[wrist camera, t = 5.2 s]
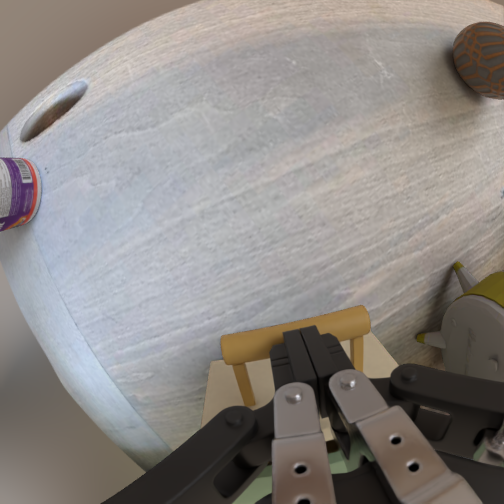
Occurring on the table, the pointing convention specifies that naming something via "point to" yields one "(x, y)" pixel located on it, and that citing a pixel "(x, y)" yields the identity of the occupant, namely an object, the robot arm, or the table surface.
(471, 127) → the table surface
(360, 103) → the table surface
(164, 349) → the table surface
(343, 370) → the robot arm
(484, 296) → the alarm clock
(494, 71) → the vase
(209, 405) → the drawer
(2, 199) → the pill bottle
